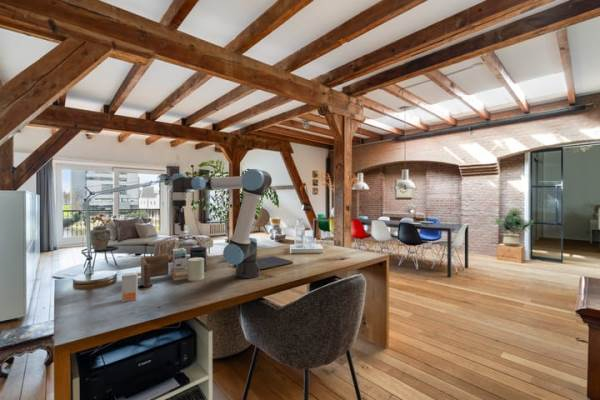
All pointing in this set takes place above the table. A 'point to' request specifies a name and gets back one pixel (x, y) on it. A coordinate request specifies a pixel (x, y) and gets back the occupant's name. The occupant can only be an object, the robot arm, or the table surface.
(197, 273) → the can
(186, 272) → the birch offcut
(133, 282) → the skincare box
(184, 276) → the oak offcut
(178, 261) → the light bulb box
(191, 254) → the storage jar
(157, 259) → the walnut rack
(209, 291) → the table surface
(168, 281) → the table surface
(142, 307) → the table surface
